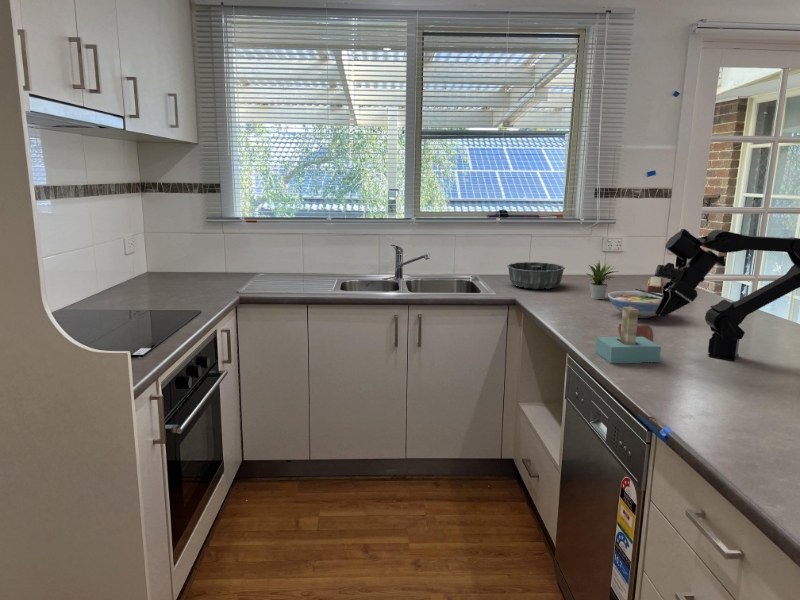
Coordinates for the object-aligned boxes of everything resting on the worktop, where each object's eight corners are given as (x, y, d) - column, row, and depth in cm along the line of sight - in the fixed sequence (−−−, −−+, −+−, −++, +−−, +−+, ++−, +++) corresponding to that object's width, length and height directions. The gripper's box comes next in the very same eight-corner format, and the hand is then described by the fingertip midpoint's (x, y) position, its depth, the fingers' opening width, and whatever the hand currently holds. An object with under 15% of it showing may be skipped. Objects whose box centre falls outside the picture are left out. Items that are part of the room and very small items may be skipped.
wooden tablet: (618, 326, 194) (618, 321, 194) (649, 328, 190) (650, 323, 190) (618, 346, 169) (618, 341, 169) (654, 349, 166) (654, 344, 166)
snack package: (662, 300, 235) (663, 284, 234) (645, 298, 238) (646, 283, 237) (662, 291, 254) (664, 277, 253) (646, 290, 257) (648, 275, 255)
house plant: (603, 304, 226) (607, 263, 223) (573, 298, 236) (576, 260, 233) (621, 299, 236) (624, 260, 232) (591, 294, 246) (594, 257, 242)
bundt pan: (563, 293, 249) (565, 271, 247) (503, 290, 256) (504, 268, 254) (563, 283, 274) (565, 263, 272) (509, 281, 281) (510, 261, 279)
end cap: (595, 352, 161) (596, 337, 160) (641, 351, 162) (642, 336, 161) (610, 363, 151) (611, 347, 150) (659, 362, 152) (660, 346, 151)
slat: (618, 355, 158) (622, 306, 156) (627, 355, 159) (631, 306, 156) (625, 359, 154) (629, 310, 152) (633, 359, 155) (638, 309, 152)
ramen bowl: (592, 310, 215) (594, 289, 214) (645, 307, 220) (647, 287, 218) (631, 325, 191) (633, 302, 190) (690, 322, 196) (692, 299, 194)
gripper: (665, 254, 164) (630, 297, 167) (676, 250, 146) (637, 298, 149) (698, 277, 162) (663, 320, 165) (714, 275, 144) (674, 323, 147)
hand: (658, 315), depth 157 cm, fingers open, 9 cm apart
